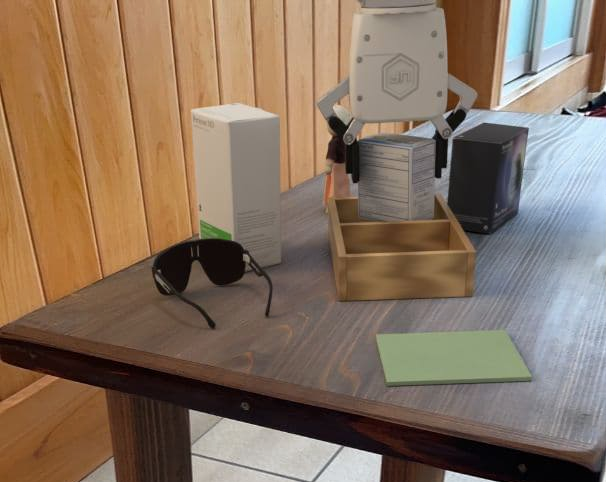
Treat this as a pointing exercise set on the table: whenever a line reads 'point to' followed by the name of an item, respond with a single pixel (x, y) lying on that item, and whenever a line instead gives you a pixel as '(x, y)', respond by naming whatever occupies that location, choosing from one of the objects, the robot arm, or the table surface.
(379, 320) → the table surface
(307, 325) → the table surface
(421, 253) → the organizer
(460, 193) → the small box
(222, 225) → the cosmetic box
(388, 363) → the pad
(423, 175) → the medicine box
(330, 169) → the grandmother figurine
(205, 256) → the sunglasses
